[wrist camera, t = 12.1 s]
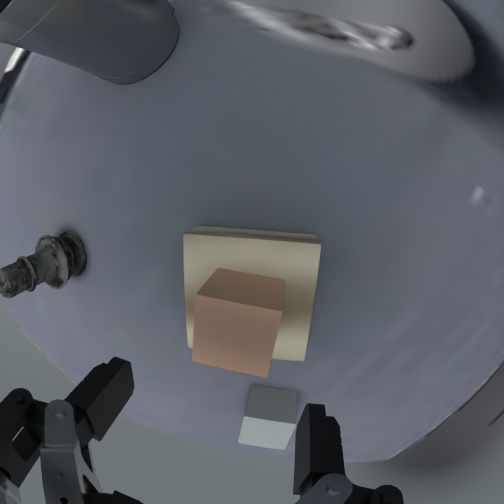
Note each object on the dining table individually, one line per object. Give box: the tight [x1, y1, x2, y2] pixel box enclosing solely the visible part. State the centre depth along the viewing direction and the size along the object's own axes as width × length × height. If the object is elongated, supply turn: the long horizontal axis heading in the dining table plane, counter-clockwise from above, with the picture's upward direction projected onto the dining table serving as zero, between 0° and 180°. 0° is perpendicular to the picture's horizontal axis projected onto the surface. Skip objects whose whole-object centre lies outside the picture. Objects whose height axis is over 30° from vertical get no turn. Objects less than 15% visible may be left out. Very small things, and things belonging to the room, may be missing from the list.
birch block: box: [183, 226, 321, 361], centre depth 23 cm, size 10×10×4 cm
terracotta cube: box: [192, 268, 285, 378], centre depth 18 cm, size 5×5×5 cm
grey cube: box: [238, 384, 297, 450], centre depth 25 cm, size 5×5×5 cm
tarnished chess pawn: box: [0, 231, 87, 299], centre depth 20 cm, size 6×6×12 cm
